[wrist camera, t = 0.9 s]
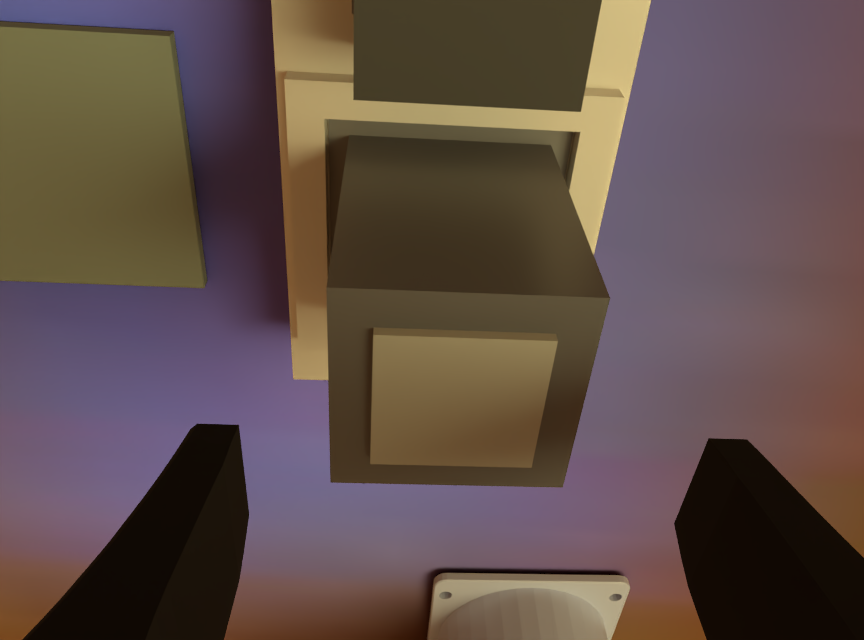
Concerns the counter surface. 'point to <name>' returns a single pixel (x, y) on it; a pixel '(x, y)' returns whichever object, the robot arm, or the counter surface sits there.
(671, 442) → the counter surface
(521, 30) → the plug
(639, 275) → the counter surface
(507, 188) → the block
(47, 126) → the mat
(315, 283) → the power strip
